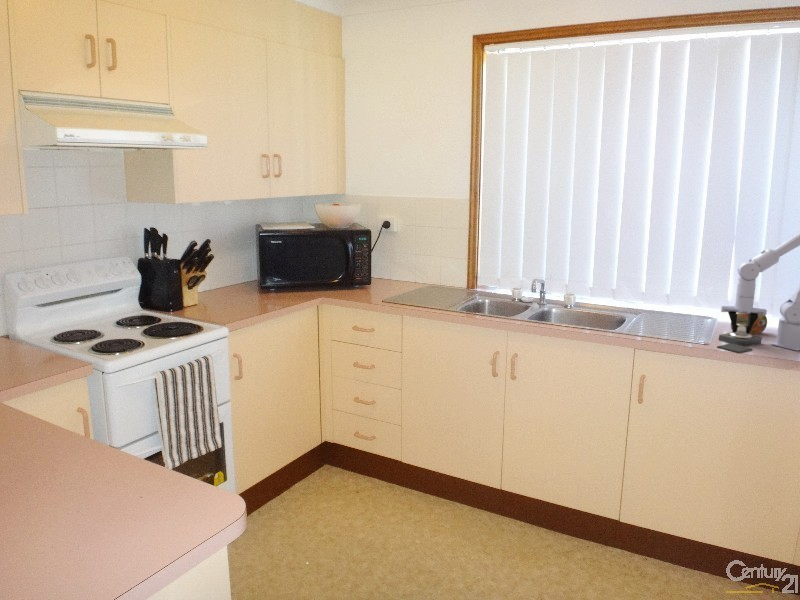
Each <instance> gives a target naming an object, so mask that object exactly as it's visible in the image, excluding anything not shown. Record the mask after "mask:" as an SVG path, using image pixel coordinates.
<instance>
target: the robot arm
mask: <svg viewBox="0 0 800 600" xmlns="http://www.w3.org/2000/svg"><path fill="white" fill-rule="evenodd" d="M799 246H800V231H799V232H797V233H796V234H795V235H793V236H792V237H790V238H788V239H787V240H785V241H783V243H781V244H780V245H779V246H777V247H775V248H774V249H769V248H768V249H766V250H765V249H762V250H760V253H759V254H757V255H756V256H754V257H753V258H749V259H748V260H747V261H746V262H743V263H741V264H740V265H739V267H738V268H737V273H738V275H739V276H738V282H737V287H736V296H735V304H734V305H721V306H720V312H721V313H727V314H728V316H729V319H730V324H731V323H732V329H731V332H733V333H735V331H736V321H737V313H748V329H747V334H749V333H750V330H751V328H752V326H753V324H754V322H755V321H756V320H757V318H758V314H761V315H765V316H767V312H768V310H767V309H766V308H760V307H759V308H758V307H754V303H755V302H754V300H755V294H756V285H757V284H756V281H757V280H756V279H757V278H758V276H759V275H760V273H763V272H766V270H767V269H770V268H771V267H773V266H775V265H776V264H778V263H779V261H780V258H781V257H782V256H784V255H786V254H788V253H789V252H791V251H793V250H794V249H796V248H798V247H799ZM779 313H780V315H781V317H780V318H779V320H778V328H777V334H776V341H774V342H771V343H770V345H772V346H776V347H779V348H784V349H789V350H793V351H795V352H796V351H800V284H799V285H798V286H797V288H796V290H795V291H794V293H792V294H791V295H790V296H789V298H788V299H787V300H786V301H785V302H783V303H782V304H781V305H780V307H779Z"/></svg>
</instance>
